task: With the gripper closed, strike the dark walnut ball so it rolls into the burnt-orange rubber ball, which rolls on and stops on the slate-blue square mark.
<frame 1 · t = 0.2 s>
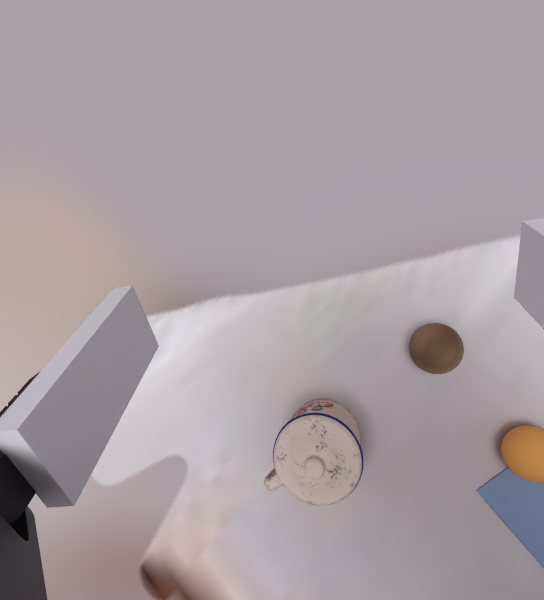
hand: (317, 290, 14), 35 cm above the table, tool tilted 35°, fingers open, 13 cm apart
teacup with lid: (314, 440, 48), on the table
walnut ball: (435, 348, 43), on the table
orange ball: (532, 453, 40), on the table
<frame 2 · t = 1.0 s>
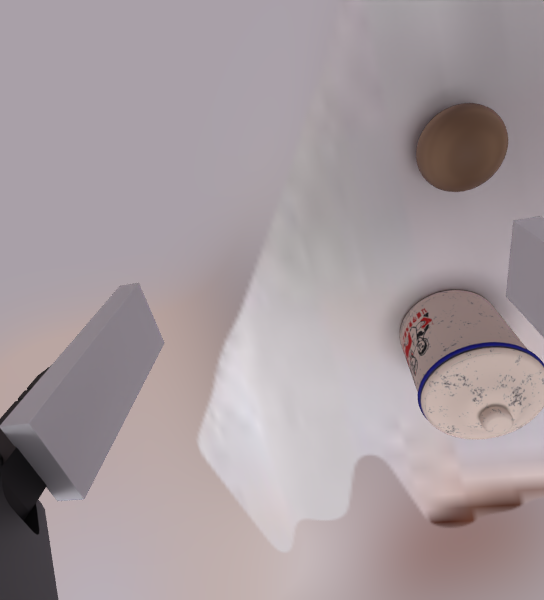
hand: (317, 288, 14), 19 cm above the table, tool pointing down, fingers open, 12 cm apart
teacup with lid: (444, 340, 37), on the table
walnut ball: (460, 149, 26), on the table
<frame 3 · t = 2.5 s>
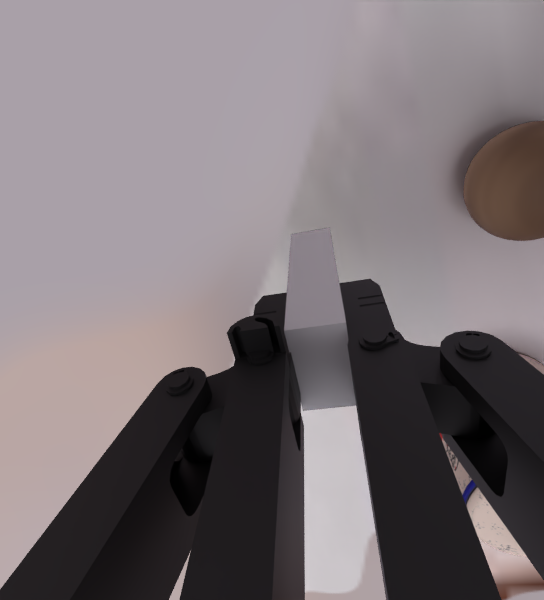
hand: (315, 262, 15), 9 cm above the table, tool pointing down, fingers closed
teacup with lid: (483, 407, 30), on the table
walnut ball: (526, 183, 19), on the table
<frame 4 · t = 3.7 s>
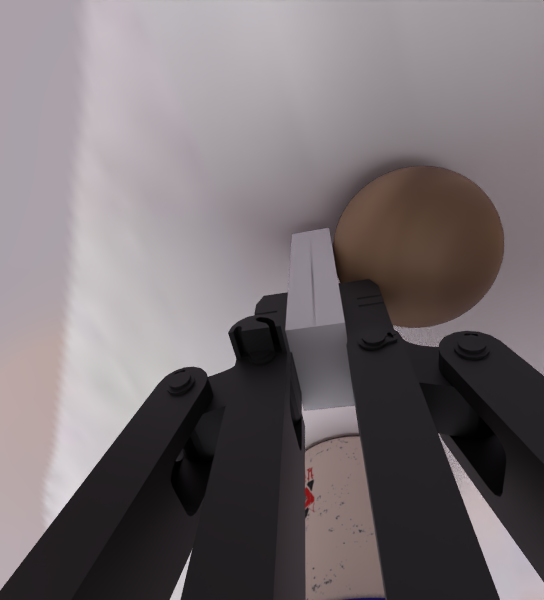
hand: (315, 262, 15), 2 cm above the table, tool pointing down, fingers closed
teacup with lid: (355, 490, 26), on the table
walnut ball: (412, 248, 14), on the table
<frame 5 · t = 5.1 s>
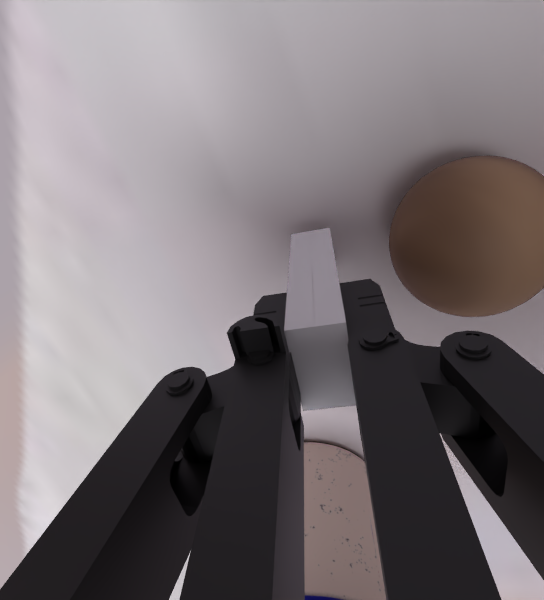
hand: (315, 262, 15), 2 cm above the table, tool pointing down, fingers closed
teacup with lid: (311, 494, 26), on the table
walnut ball: (470, 238, 14), on the table
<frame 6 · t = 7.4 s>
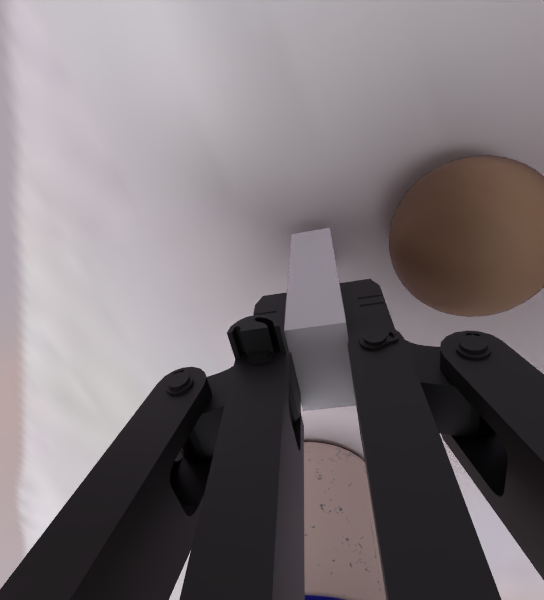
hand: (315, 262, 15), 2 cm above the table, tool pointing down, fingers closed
teacup with lid: (311, 493, 26), on the table
walnut ball: (470, 238, 14), on the table
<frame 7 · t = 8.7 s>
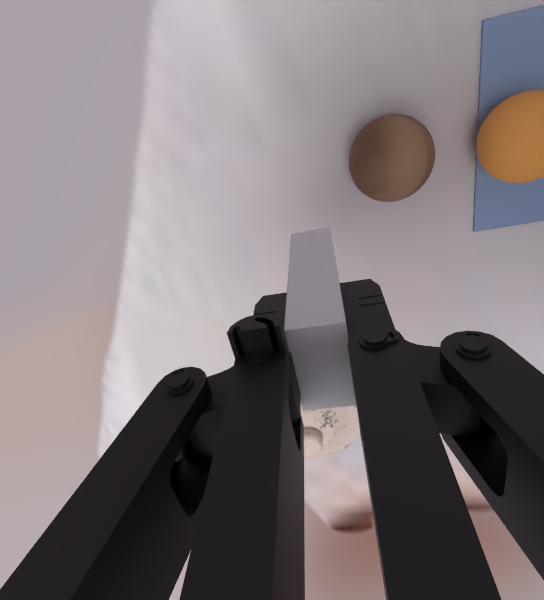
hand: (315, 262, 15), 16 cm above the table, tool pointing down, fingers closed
teacup with lid: (308, 359, 39), on the table
walnut ball: (390, 159, 26), on the table
orange ball: (524, 138, 25), on the table
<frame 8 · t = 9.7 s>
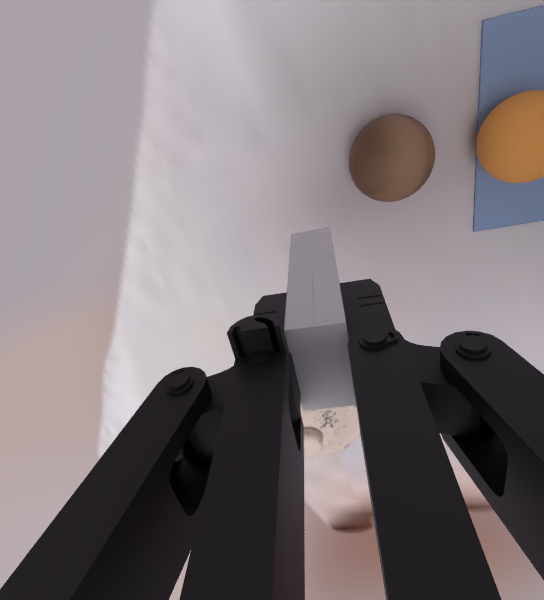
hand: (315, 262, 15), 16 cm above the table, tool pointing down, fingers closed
teacup with lid: (308, 359, 39), on the table
walnut ball: (390, 159, 26), on the table
orange ball: (524, 138, 25), on the table
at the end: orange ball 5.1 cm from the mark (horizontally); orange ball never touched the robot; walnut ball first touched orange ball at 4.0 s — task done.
